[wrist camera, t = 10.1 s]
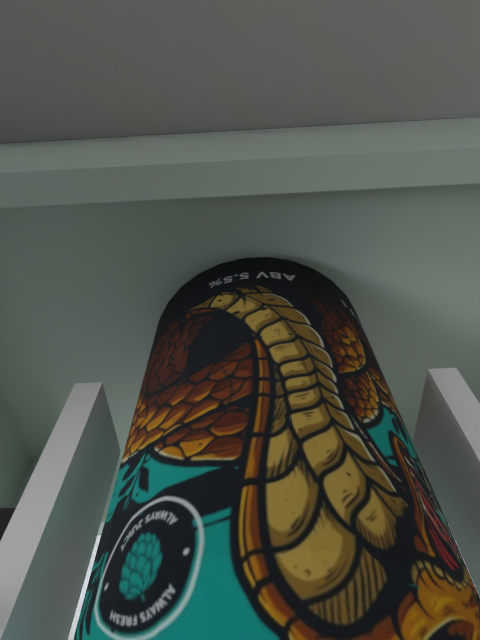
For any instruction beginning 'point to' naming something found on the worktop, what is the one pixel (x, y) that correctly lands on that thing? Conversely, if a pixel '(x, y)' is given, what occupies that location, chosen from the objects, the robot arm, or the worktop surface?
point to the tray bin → (227, 254)
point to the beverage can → (272, 481)
